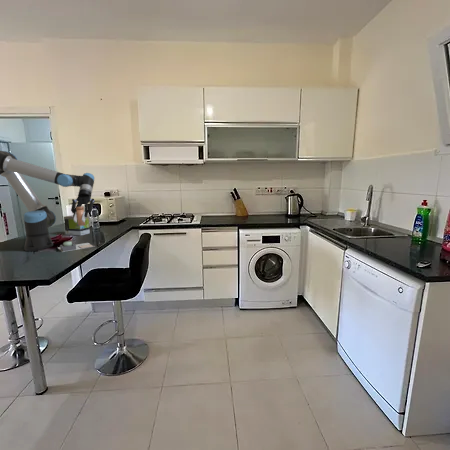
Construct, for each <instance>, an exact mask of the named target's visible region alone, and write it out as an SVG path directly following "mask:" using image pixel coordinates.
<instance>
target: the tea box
mask: <svg viewBox="0 0 450 450" xmlns="http://www.w3.org/2000/svg"><path fill="white" fill-rule="evenodd" d="M89 219H90V218H89V215H87V217H85V225H83V226H78V219H77V222H76V223H75V222H74V217H73V214H72V215H67V216H63V222H64V223H63V224H64V231H65V233H64V234H65V235H66V236H84V235H88V234H89V235H90V234H91V233H90V232H91V231H90V229H91V227H90V221H89Z"/></svg>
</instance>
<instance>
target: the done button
mask: <svg viewBox="0 0 450 450" xmlns="http://www.w3.org/2000/svg"><path fill="white" fill-rule="evenodd" d="M72 242H73V241H64V242H63V243H62V245H64V247H66V246H72Z"/></svg>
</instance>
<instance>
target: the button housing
mask: <svg viewBox="0 0 450 450" xmlns="http://www.w3.org/2000/svg"><path fill="white" fill-rule="evenodd" d="M76 245H77V244H75V243H74V242H73V243H72V246H66V247H64V244H60V245H59V247H60V249H61V250H62V251H63V252H62V251H61V250H60V249H59V250H60V251H61V252H62V253H64V251H65V252H69V251H70V250H71V251H75V250H76ZM71 251H70V252H71ZM76 251H77V250H76Z"/></svg>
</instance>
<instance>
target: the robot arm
mask: <svg viewBox="0 0 450 450" xmlns="http://www.w3.org/2000/svg"><path fill="white" fill-rule="evenodd" d="M25 176H27V177H30V178H35V179H37V180H41V181H45V182H47V183H52V184H56V185H59V186H61V187H63V188H64V187H65V188H68V187H79V190H78V193H77V198H76V199H74V198H72V199H71V202H72V203H71V208H70V212H71V213H72V215H73V217H74V222H75V223H76V222H77V211H76V207H81V206H83V205H84V211H83V216H82V221H83V222H85V217H87V216H89V215H88V214H90V213H91V214H92V211H93V206H94V204H95V202H96V201H95V199H94V198H92V194H93V189H94V184H95V176H94V175H93V174H92V173H89V172H86V173H83V174H82V175H76V174H75V175H74V174H66V173H64V172H63V173H62V172H59V171H55V170H52V169H49V168H46V167H43V166H40V165H35V164H32V163H29V162H25V161H22V160H19V159H18V157H17V156H16V155H14V154H13V153H11V152H10V151H6V150H0V177H4V178H6V180H7V181H8V183H9V185H10V186H11V187H12V189H13V190H14V192H15V193H16V195H17V196H18V197H19V199H20V200H21V202H22V203H23V204H24V206H25V207H26V209H27V210H28V211H26V212H25V213H24V214H23V223H24V229H25V234H26V235H25V237H26V238H25V243H24V251H25V252H38V251H39V250H43V249H44V250H45V249H49V248H52V247H53V246H54V242H53V240H52V238H51V236H50V235H49V228H51V227H53V225H54V224H55V223H56V221H57V217H56V214H55V213H54V212H53V211H52V210H50V209H49V208H48V206H47V205H46V204H43V203H42V202H41V200H40V199H39V197H38V196H37V194H36V192H35V191H34V190H33V188H32V187H31V185H30V184H29V183H28V181H27V180H26V178H25ZM88 204H89V205H88Z"/></svg>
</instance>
